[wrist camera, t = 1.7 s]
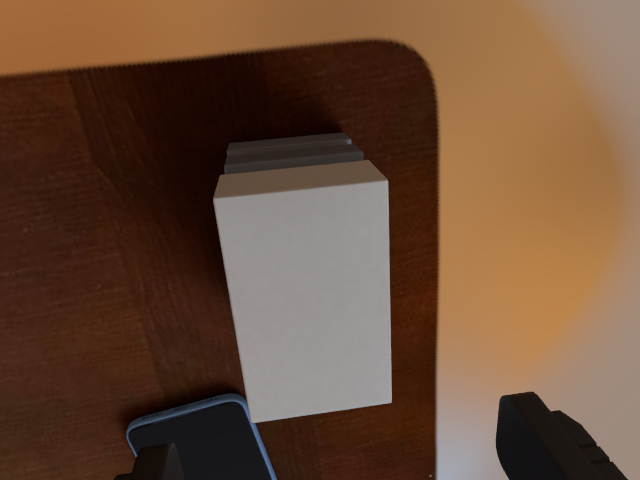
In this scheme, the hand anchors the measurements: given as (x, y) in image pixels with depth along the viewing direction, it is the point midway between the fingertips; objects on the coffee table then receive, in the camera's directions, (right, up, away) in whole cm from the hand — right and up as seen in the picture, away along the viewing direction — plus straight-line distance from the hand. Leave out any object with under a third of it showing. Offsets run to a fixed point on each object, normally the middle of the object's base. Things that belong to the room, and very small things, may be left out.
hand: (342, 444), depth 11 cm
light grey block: (-1, +3, +8) cm, 9 cm away
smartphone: (-7, -11, +19) cm, 23 cm away
